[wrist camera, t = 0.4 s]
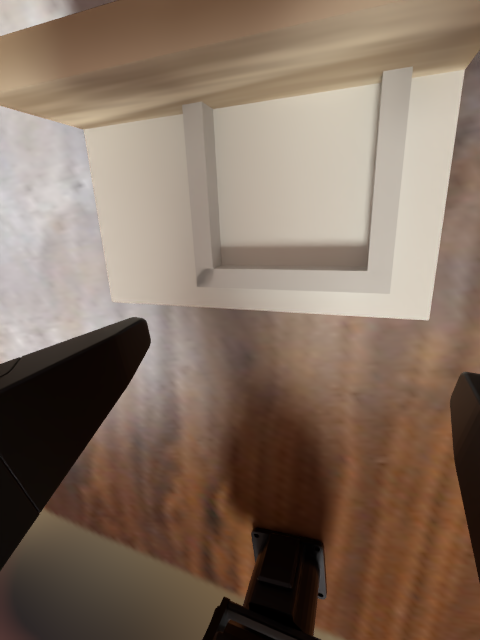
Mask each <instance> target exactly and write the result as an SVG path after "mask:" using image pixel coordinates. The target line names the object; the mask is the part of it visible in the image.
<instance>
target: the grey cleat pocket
mask: <svg viewBox="0 0 480 640" xmlns="http://www.w3.org/2000/svg"><path fill="white" fill-rule="evenodd" d="M464 71H465V70H460V71H453V72H447V73H440V74H434V75H428V76H421V77H415V78H412V72H413V66H412V67H406V68H400V69H394V70H388V71H383V76H382V82H381V83H377V84H370V85H364V86H358V87H351V88H345V89H338V90H332V91H326V92H319V93H313V94H307V95H300V96H294V97H287V98H281V99H275V100H268V101H262V102H256V103H249V104H243V105H236V106H230V107H224V108H217V109H212V108H211V107H209V106H208V105H206V104H205V103H203V102H196V103H190V104H184V105H182V111H183V114H179V115H173V116H166V117H160V118H153V119H147V120H141V121H134V122H128V123H122V124H115V125H109V126H102V127H96V128H90V129H84V135H85V141H86V147H87V153H88V159H89V165H90V171H91V177H92V183H93V189H94V195H95V201H96V207H97V213H98V219H99V226H100V232H101V238H102V244H103V250H104V256H105V262H106V268H107V274H108V280H109V286H110V292H111V298H112V302H121V303H138V304H156V305H173V306H190V307H208V308H225V309H242V310H260V311H277V312H294V313H312V314H329V315H346V316H363V317H381V318H398V319H415V320H429V316H430V309H431V302H432V295H433V288H434V281H435V274H436V267H437V260H438V253H439V246H440V239H441V232H442V225H443V218H444V211H445V204H446V197H447V190H448V183H449V176H450V169H451V162H452V155H453V148H454V141H455V134H456V127H457V120H458V113H459V106H460V99H461V92H462V85H463V78H464Z"/></svg>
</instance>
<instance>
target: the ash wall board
mask: <svg viewBox="0 0 480 640" xmlns="http://www.w3.org/2000/svg"><path fill="white" fill-rule="evenodd" d="M479 50H480V0H118V1H114V2H111V3H108V4H105V5H101V6H98V7H95V8H91V9H88V10H85V11H82V12H78V13H75V14H72V15H69V16H65V17H62V18H59V19H55V20H52V21H49V22H46V23H42V24H39V25H36V26H33V27H29V28H26V29H23V30H19V31H16V32H13V33H10V34H6V35H3V36H0V106H3V107H7V108H10V109H14V110H17V111H21V112H24V113H28V114H31V115H35V116H38V117H42V118H45V119H49V120H52V121H56V122H59V123H63V124H66V125H70V126H73V127H77V128H80V129H90V128H96V127H102V126H109V125H115V124H122V123H128V122H134V121H141V120H147V119H153V118H160V117H166V116H173V115H179V114H183V111H182V105H184V104H190V103H196V102H203V103H205V104H206V105H208V106H209V107H211V108H212V109H217V108H224V107H230V106H236V105H243V104H249V103H256V102H262V101H268V100H275V99H281V98H287V97H294V96H300V95H307V94H313V93H319V92H326V91H332V90H338V89H345V88H351V87H358V86H364V85H370V84H377V83H381V82H382V76H383V71H388V70H394V69H400V68H406V67H412V66H413V72H412V78H415V77H421V76H428V75H434V74H440V73H447V72H453V71H460V70H465V69H466V67H467V66H468V65H469V63H470V62H471V61H472V59H473V58H474V57H475V55H476V54H477V53H478V51H479Z"/></svg>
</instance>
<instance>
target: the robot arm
mask: <svg viewBox="0 0 480 640" xmlns="http://www.w3.org/2000/svg"><path fill="white" fill-rule="evenodd" d="M150 343H151V339H150V334H149V330H148V325H147V322H146V320H145V319H143V318H137V317H132V318H129V319H126V320H123V321H120V322H117V323H115V324H112V325H109V326H106V327H103V328H101V329H98V330H95V331H92V332H89V333H87V334H84V335H81V336H78V337H75V338H72V339H70V340H67V341H64V342H61V343H58V344H56V345H53V346H50V347H47V348H44V349H41V350H39V351H36V352H33V353H30V354H27V355H25V356H22V357H21V358H20V357H19V358H16V359H13V360H10V361H8V362H5V363H2V364H0V571H1V569H2V568H3V566H4V565H5V564H6V562H7V560H8V559H9V557H10V556H11V555H12V553H13V552H14V550H15V549H16V548H17V546H18V545H19V543H20V542H21V540H22V539H23V537H24V536H25V534H26V533H27V532H28V530H29V529H30V527H31V526H32V524H33V523H34V521H35V520H36V519H37V517H38V516H39V513H40V512H41V511H42V509H43V508H44V507H45V505H46V504H47V502H48V501H49V499H50V498H51V496H52V495H53V494H54V492H55V491H56V489H57V488H58V486H59V485H60V483H61V482H62V480H63V479H64V478H65V476H66V475H67V473H68V472H69V470H70V469H71V467H72V466H73V465H74V463H75V462H76V460H77V459H78V457H79V456H80V454H81V453H82V451H83V450H84V449H85V447H86V446H87V444H88V443H89V441H90V440H91V438H92V437H93V436H94V434H95V433H96V431H97V430H98V428H99V427H100V425H101V424H102V422H103V421H104V420H105V418H106V417H107V415H108V414H109V412H110V411H111V409H112V408H113V407H114V405H115V404H116V402H117V401H118V399H119V398H120V396H121V395H122V393H123V392H124V391H125V389H126V388H127V386H128V385H129V383H130V381H131V379H132V378H133V376H134V374H135V372H136V370H137V369H138V367H139V365H140V363H141V361H142V360H143V358H144V356H145V354H146V352H147V350H148V349H149V346H150ZM450 409H451V423H452V437H453V450H454V460H455V466H456V472H457V476H458V481H459V486H460V491H461V496H462V500H463V505H464V510H465V515H466V519H467V524H468V529H469V534H470V539H471V543H472V548H473V553H474V558H475V562H476V567H477V572H478V577H479V582H480V374H476V373H470V372H463V373H462V374H461V375H460V376H459V379H458V381H457V383H456V386H455V388H454V391H453V393H452V396H451V400H450ZM251 536H252V542H253V549H254V556H255V567H254V570H253V573H252V577H251V580H250V583H249V587H248V590H247V593H246V597H245V600H244V604H243V606H241V605H239V604H237V603H234V602H232V601H230V599H228V598H226V597H224V598H223V600H222V602H221V604H220V606H218V607H217V608H216V609H215V611H214V614H213V617H212V620H211V622H210V625H209V627H208V629H207V631H206V633H205V635H204V637H203V639H202V640H321V639H318V638H316V637H314V636H313V635H314V626H315V617H316V608H317V599H318V598H319V599H325V598H326V594H327V589H326V574H325V560H324V546H323V544H322V543H321V542H320V541H317V540H312V539H307V538H303V537H298V536H293V535H289V534H284V533H279V532H275V531H270V530H265V529H261V528H253V530H252V533H251Z"/></svg>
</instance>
